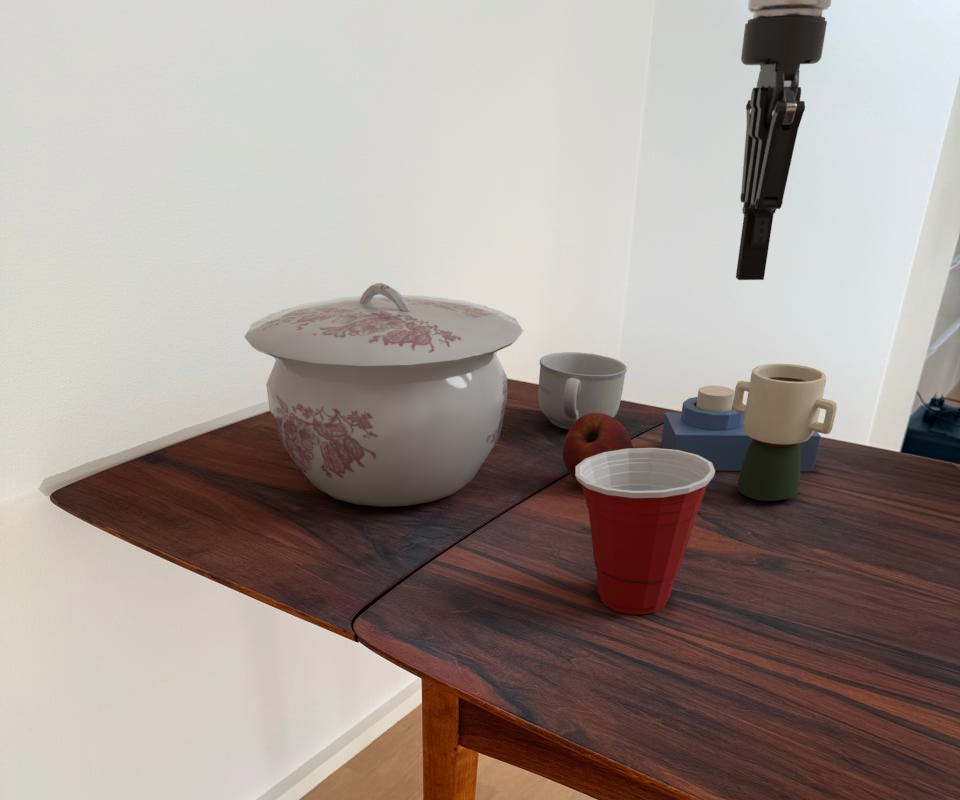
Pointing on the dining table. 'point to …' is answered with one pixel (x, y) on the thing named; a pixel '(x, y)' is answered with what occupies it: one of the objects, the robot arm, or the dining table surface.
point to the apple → (593, 439)
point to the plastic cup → (641, 521)
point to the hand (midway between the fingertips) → (749, 278)
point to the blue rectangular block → (719, 437)
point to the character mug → (779, 426)
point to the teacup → (579, 386)
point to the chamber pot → (387, 392)
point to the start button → (715, 398)
